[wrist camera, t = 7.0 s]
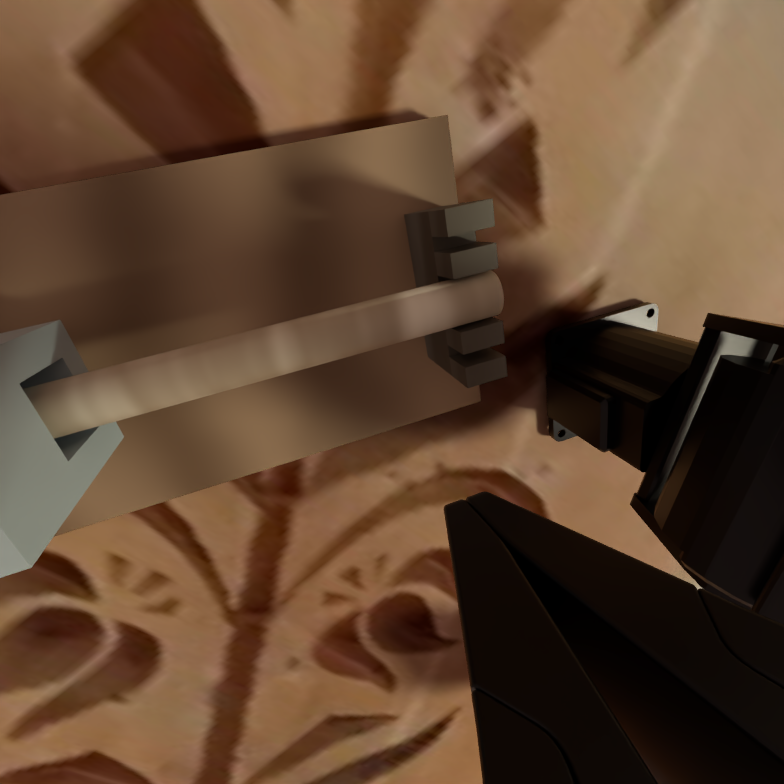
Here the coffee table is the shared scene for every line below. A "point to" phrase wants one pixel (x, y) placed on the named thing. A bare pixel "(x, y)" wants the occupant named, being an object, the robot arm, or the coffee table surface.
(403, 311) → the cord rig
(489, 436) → the coffee table surface
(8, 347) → the sleeve
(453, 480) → the coffee table surface
